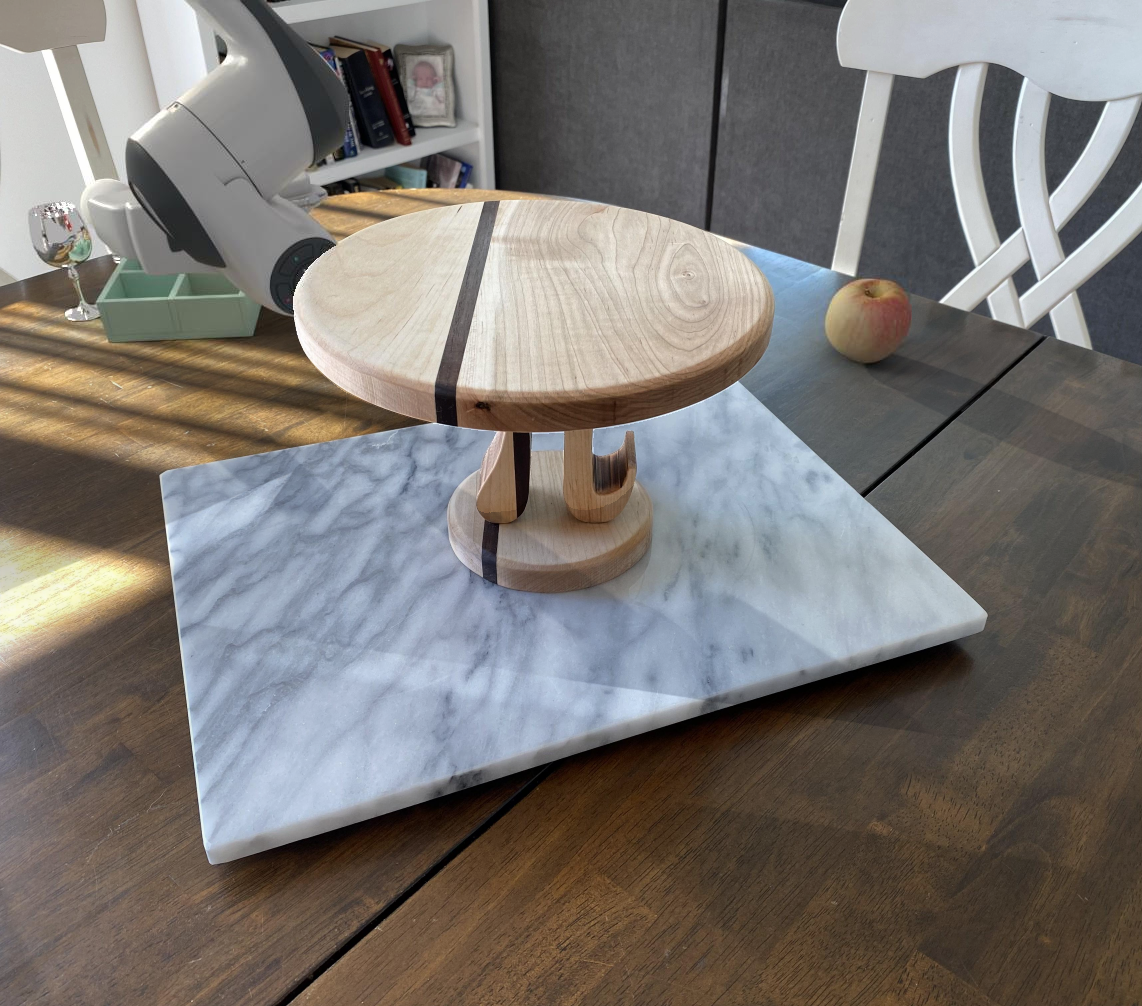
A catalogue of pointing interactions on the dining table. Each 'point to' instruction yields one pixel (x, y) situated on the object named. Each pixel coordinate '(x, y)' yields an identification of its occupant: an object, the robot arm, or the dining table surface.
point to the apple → (868, 319)
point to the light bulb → (100, 189)
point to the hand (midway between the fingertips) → (177, 181)
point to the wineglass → (63, 247)
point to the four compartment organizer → (173, 306)
